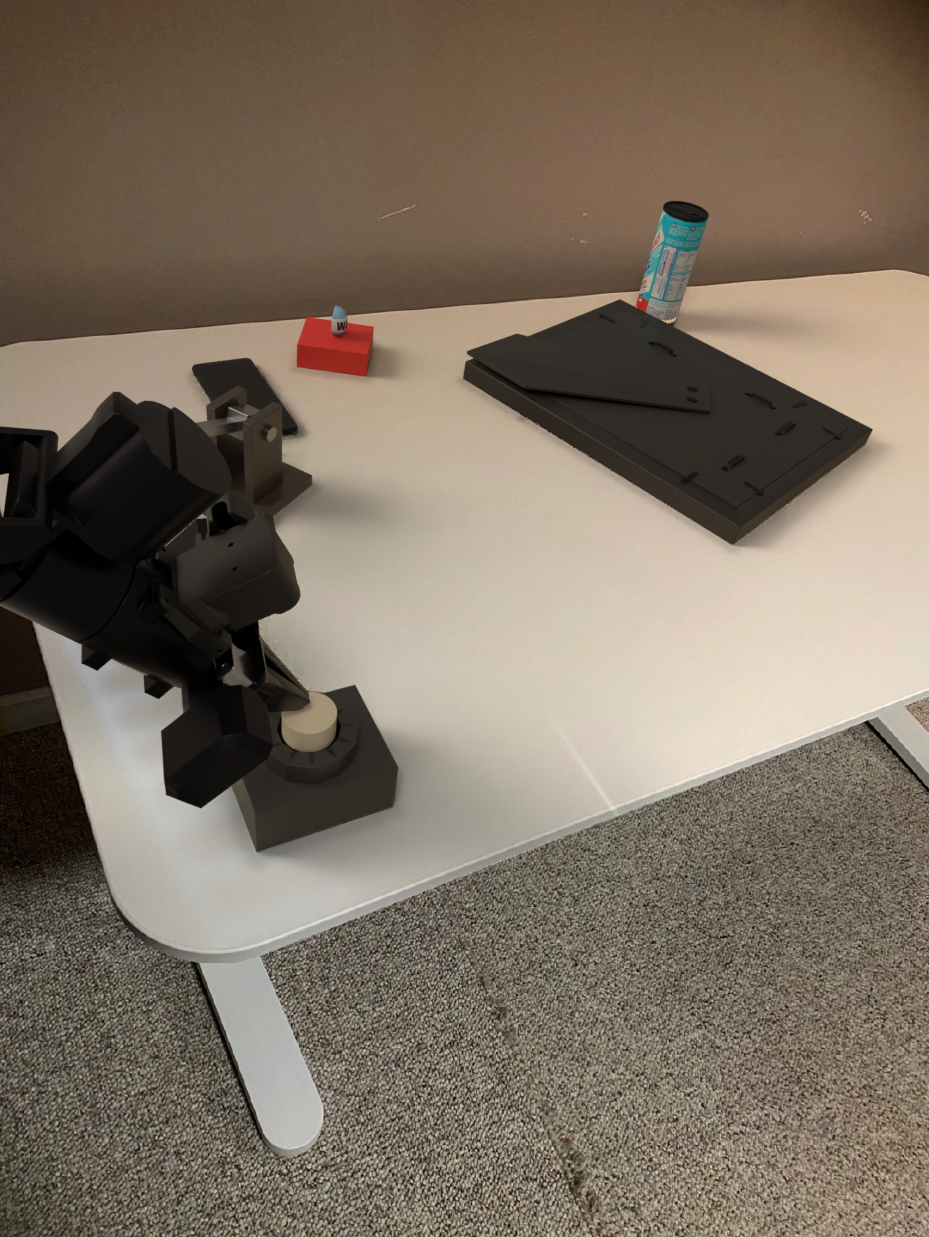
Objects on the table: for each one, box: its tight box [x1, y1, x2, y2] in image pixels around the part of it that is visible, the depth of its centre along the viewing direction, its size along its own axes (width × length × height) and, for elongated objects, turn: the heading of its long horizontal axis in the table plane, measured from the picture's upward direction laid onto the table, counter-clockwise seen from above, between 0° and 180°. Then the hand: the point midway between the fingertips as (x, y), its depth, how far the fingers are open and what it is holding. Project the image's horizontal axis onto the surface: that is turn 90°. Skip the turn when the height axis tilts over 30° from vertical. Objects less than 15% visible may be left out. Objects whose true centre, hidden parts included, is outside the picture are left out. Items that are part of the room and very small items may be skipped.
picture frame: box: [462, 298, 873, 545], centre depth 110 cm, size 31×4×38 cm
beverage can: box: [635, 200, 710, 326], centre depth 124 cm, size 6×6×15 cm
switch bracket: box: [202, 386, 313, 517], centre depth 86 cm, size 10×8×10 cm
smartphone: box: [191, 357, 299, 436], centre depth 100 cm, size 7×1×15 cm
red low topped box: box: [296, 305, 375, 377], centre depth 108 cm, size 8×7×6 cm
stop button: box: [282, 690, 337, 753], centre depth 62 cm, size 4×4×2 cm
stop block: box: [231, 684, 399, 853], centre depth 65 cm, size 10×8×6 cm
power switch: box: [195, 405, 260, 441], centre depth 80 cm, size 13×3×3 cm, turn 151°
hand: (304, 702), depth 60 cm, fingers closed
